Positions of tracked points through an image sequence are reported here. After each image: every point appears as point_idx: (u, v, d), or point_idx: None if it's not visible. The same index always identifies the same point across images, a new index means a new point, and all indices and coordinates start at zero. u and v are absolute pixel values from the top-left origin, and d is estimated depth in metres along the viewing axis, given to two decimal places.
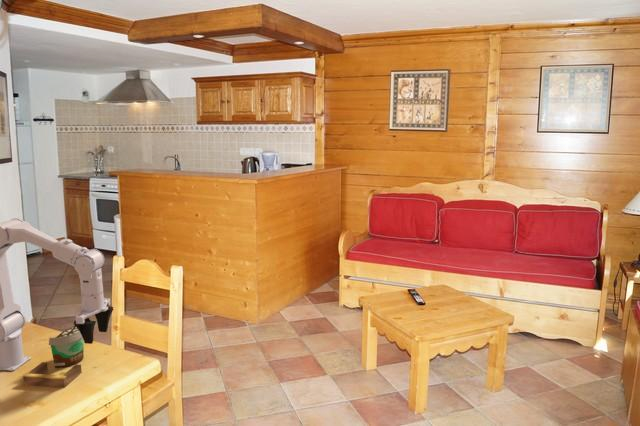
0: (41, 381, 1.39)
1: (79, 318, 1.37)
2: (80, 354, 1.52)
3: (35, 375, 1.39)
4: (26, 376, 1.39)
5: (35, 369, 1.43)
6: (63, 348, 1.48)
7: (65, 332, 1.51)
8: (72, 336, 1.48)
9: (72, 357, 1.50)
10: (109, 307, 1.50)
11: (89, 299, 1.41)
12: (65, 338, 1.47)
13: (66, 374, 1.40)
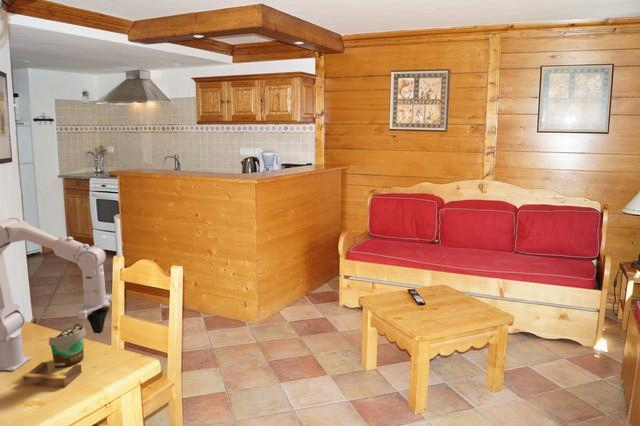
0: (41, 381, 1.39)
1: (82, 313, 1.40)
2: (80, 354, 1.52)
3: (35, 375, 1.39)
4: (26, 376, 1.39)
5: (35, 369, 1.43)
6: (63, 348, 1.48)
7: (65, 332, 1.51)
8: (72, 336, 1.48)
9: (72, 357, 1.50)
10: None
11: (91, 295, 1.44)
12: (65, 338, 1.47)
13: (66, 374, 1.40)
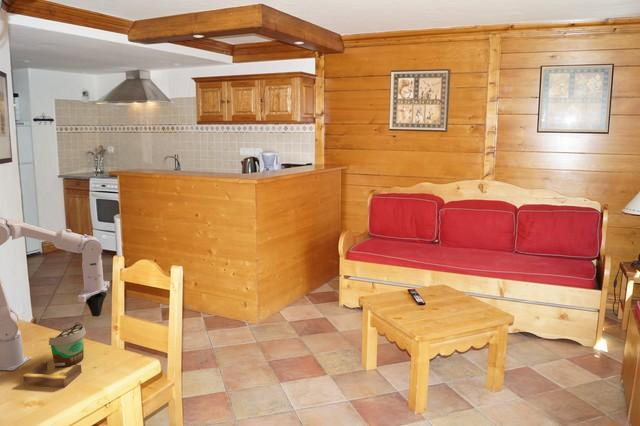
0: (41, 381, 1.39)
1: (81, 297, 1.52)
2: (80, 354, 1.52)
3: (35, 375, 1.39)
4: (26, 376, 1.39)
5: (35, 369, 1.43)
6: (63, 348, 1.48)
7: (65, 332, 1.51)
8: (72, 336, 1.48)
9: (72, 357, 1.50)
10: None
11: (90, 280, 1.56)
12: (65, 338, 1.47)
13: (66, 374, 1.40)
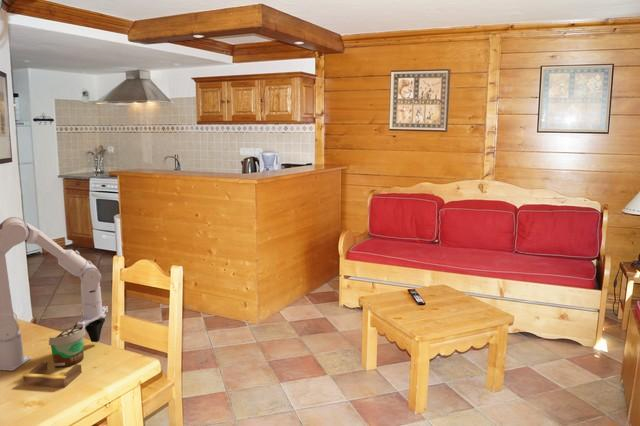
0: (41, 381, 1.39)
1: (80, 324, 1.55)
2: (80, 354, 1.52)
3: (35, 375, 1.39)
4: (26, 376, 1.39)
5: (35, 369, 1.43)
6: (63, 348, 1.48)
7: (65, 332, 1.51)
8: (72, 336, 1.48)
9: (72, 357, 1.50)
10: None
11: (89, 307, 1.59)
12: (65, 338, 1.47)
13: (66, 374, 1.40)
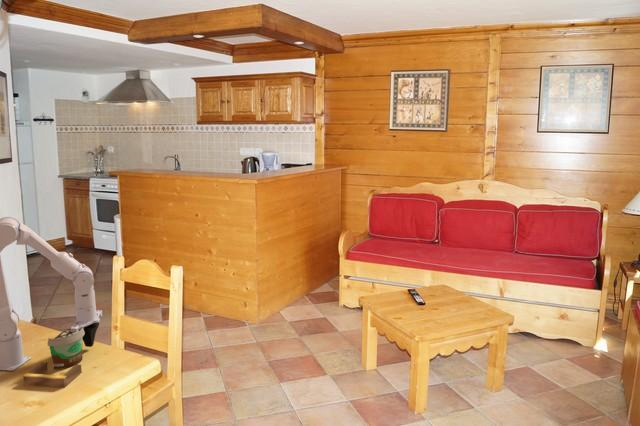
0: (41, 381, 1.39)
1: (73, 329, 1.52)
2: (79, 355, 1.52)
3: (35, 375, 1.39)
4: (26, 376, 1.39)
5: (35, 369, 1.43)
6: (62, 349, 1.47)
7: (64, 333, 1.50)
8: (71, 337, 1.48)
9: (71, 357, 1.49)
10: None
11: (83, 311, 1.55)
12: (64, 339, 1.46)
13: (66, 374, 1.40)
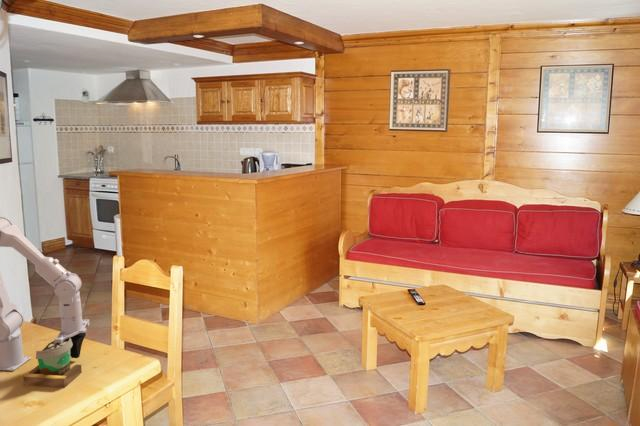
0: (41, 381, 1.39)
1: (58, 340, 1.44)
2: (68, 366, 1.45)
3: (35, 375, 1.39)
4: (26, 376, 1.39)
5: (35, 369, 1.43)
6: (51, 361, 1.40)
7: (51, 344, 1.43)
8: (61, 348, 1.41)
9: (60, 369, 1.42)
10: None
11: (68, 321, 1.48)
12: (54, 350, 1.39)
13: (66, 374, 1.40)
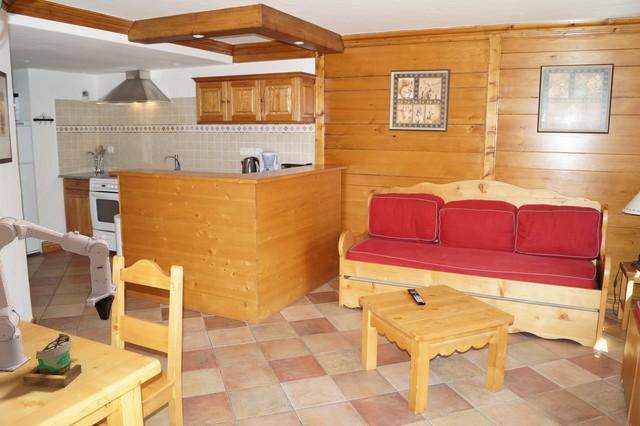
0: (41, 381, 1.39)
1: (90, 301, 1.50)
2: (68, 366, 1.45)
3: (35, 375, 1.39)
4: (26, 376, 1.39)
5: (35, 369, 1.43)
6: (51, 361, 1.40)
7: (51, 344, 1.43)
8: (61, 348, 1.41)
9: (60, 370, 1.42)
10: None
11: (98, 284, 1.54)
12: (54, 351, 1.39)
13: (66, 374, 1.40)
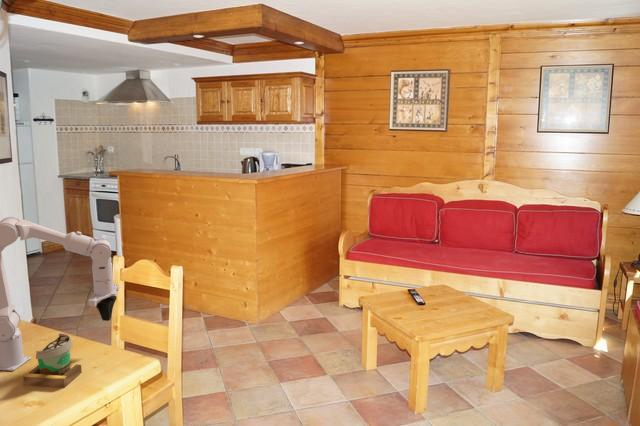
0: (41, 381, 1.39)
1: (92, 301, 1.50)
2: (68, 366, 1.45)
3: (35, 375, 1.39)
4: (26, 376, 1.39)
5: (35, 369, 1.43)
6: (51, 361, 1.40)
7: (51, 344, 1.43)
8: (61, 348, 1.41)
9: (60, 370, 1.42)
10: None
11: (100, 284, 1.54)
12: (54, 350, 1.39)
13: (66, 374, 1.40)
